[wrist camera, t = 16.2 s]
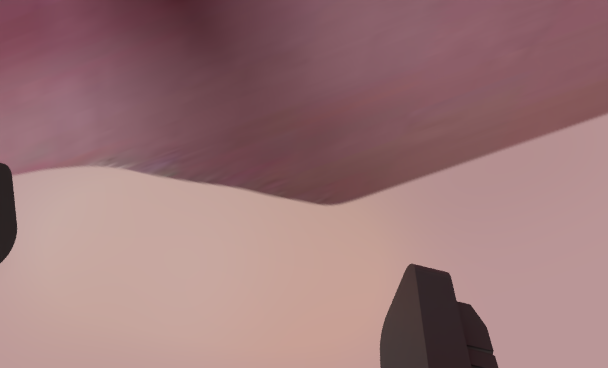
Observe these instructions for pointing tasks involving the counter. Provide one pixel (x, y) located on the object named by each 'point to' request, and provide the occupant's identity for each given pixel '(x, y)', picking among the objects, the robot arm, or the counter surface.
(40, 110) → the counter surface
